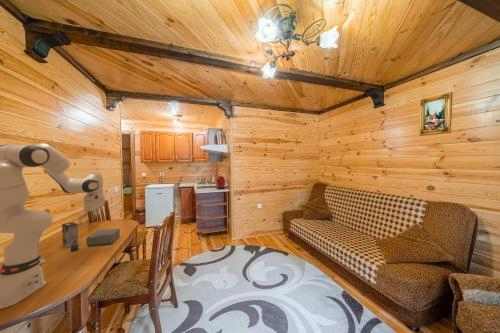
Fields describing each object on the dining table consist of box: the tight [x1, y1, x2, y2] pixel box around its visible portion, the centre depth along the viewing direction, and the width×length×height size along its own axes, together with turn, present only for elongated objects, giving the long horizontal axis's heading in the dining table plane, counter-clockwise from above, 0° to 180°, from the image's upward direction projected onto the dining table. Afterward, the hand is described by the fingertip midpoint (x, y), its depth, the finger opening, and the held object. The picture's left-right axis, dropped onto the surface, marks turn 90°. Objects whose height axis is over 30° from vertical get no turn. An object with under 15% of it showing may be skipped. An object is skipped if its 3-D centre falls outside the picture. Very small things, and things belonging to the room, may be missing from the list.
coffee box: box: [61, 221, 79, 249], centre depth 142 cm, size 9×6×16 cm
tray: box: [85, 236, 113, 246], centre depth 148 cm, size 14×16×5 cm
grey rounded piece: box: [69, 243, 79, 253], centre depth 133 cm, size 4×4×4 cm
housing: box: [87, 228, 121, 247], centre depth 149 cm, size 14×16×7 cm
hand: (95, 214), depth 136 cm, fingers closed
